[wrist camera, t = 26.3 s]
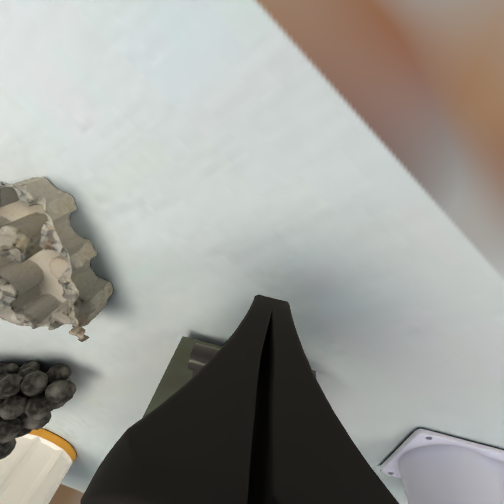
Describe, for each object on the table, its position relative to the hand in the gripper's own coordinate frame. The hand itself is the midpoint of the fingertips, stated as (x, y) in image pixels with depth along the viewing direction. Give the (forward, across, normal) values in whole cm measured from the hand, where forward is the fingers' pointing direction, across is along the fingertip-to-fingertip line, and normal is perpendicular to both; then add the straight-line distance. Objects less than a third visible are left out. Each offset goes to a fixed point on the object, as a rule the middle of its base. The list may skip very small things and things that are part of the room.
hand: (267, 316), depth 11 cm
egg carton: (+7, +16, +5) cm, 18 cm away
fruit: (+7, +20, +22) cm, 31 cm away
